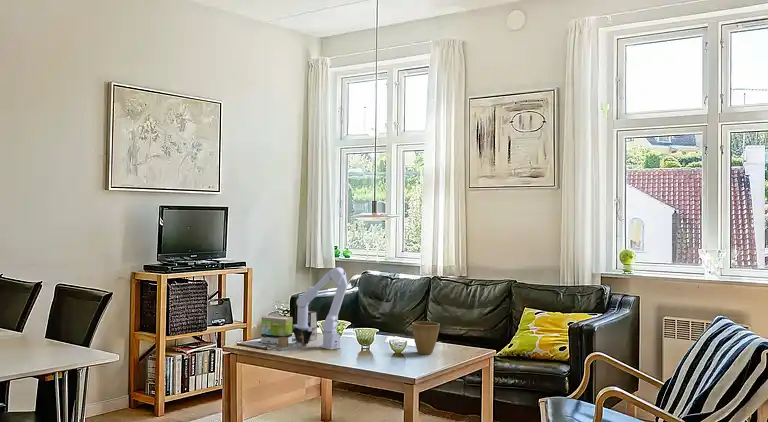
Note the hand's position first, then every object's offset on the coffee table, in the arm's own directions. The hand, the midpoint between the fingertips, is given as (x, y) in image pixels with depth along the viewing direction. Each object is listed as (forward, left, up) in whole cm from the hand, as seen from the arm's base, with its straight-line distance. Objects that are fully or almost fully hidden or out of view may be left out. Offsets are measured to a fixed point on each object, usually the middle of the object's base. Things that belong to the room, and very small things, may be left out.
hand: (302, 342), depth 387 cm
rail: (-3, +11, -2) cm, 12 cm away
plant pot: (-56, -40, -2) cm, 69 cm away
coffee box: (+15, -15, -2) cm, 21 cm away
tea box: (+16, +6, -2) cm, 17 cm away
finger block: (0, 0, -2) cm, 2 cm away
